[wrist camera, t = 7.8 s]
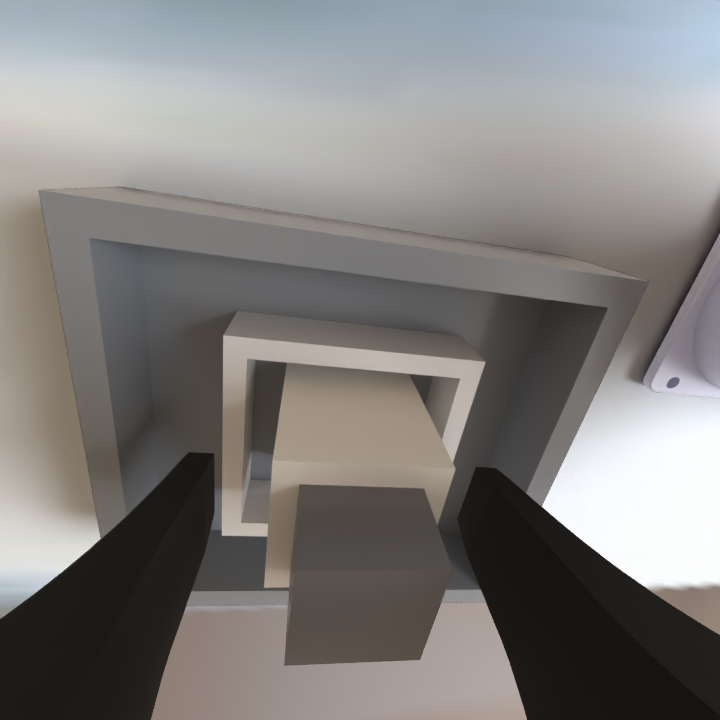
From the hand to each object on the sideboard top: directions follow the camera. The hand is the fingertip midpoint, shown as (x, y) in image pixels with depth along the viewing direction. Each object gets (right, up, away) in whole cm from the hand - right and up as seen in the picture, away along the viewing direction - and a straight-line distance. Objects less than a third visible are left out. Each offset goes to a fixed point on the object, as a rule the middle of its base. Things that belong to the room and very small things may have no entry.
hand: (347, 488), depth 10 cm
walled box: (-1, +2, +4) cm, 4 cm away
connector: (0, +2, +3) cm, 3 cm away
